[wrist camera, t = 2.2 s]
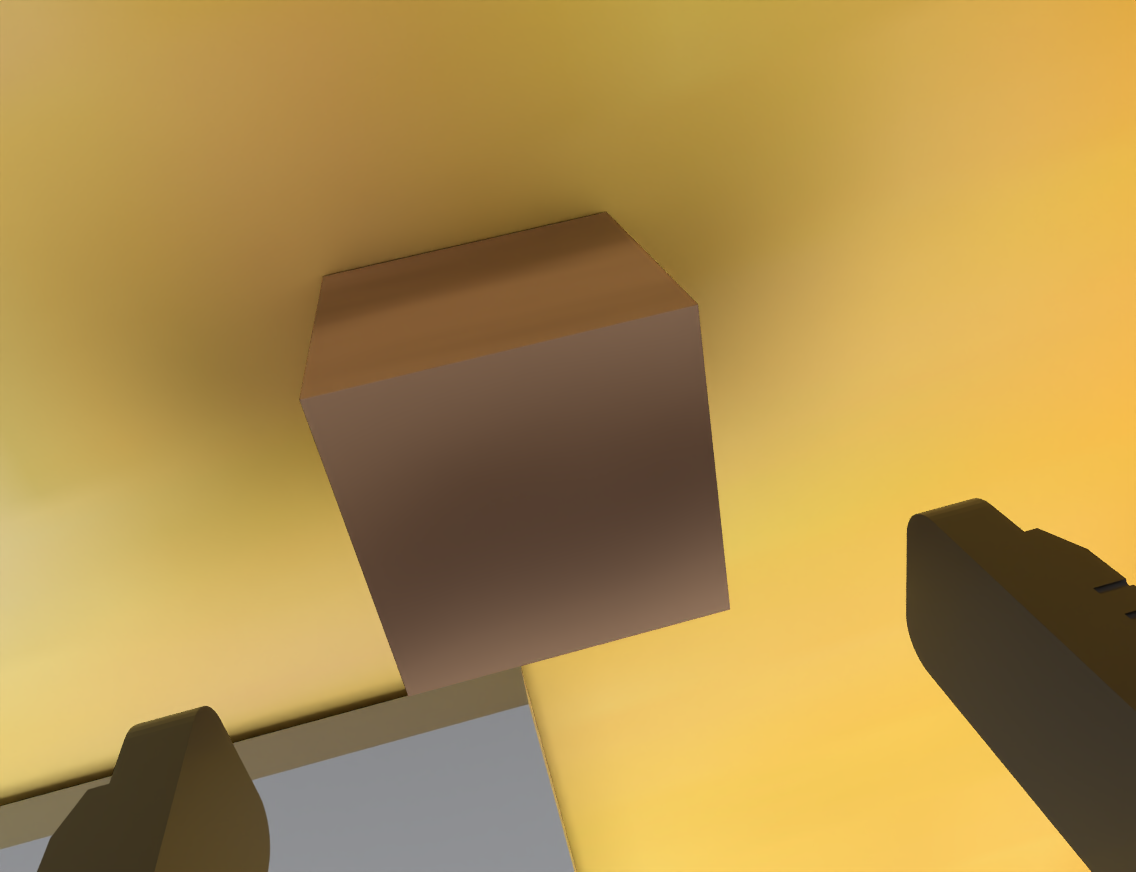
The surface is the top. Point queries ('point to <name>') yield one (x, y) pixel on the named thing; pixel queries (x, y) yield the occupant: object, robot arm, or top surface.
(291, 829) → the plate
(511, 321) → the walnut cube
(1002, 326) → the top surface
